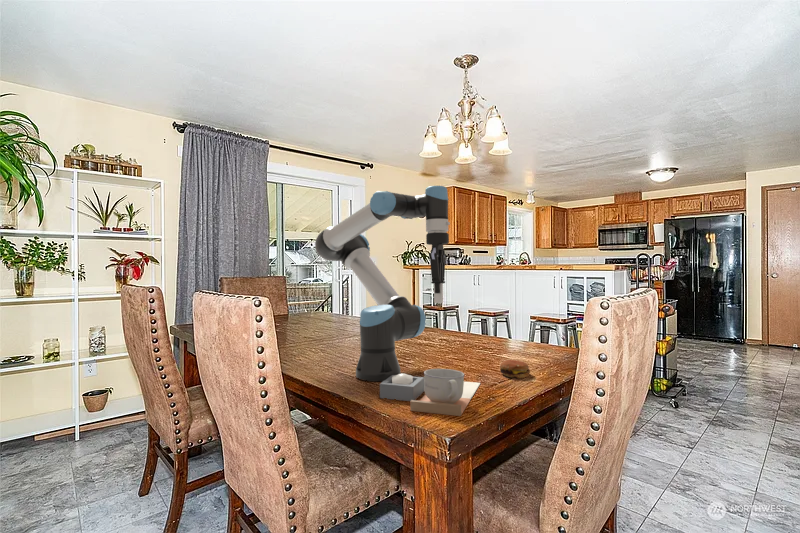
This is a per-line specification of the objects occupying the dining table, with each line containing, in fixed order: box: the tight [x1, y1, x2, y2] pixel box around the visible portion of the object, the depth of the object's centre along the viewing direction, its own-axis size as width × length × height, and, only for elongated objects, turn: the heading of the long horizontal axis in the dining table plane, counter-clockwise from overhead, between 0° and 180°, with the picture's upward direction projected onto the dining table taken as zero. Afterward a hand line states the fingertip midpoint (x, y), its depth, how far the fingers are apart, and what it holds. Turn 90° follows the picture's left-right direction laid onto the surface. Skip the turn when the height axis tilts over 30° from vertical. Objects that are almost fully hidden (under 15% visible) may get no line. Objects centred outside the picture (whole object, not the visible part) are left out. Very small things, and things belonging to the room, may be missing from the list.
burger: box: [499, 359, 531, 379], centre depth 139 cm, size 10×9×5 cm
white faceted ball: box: [392, 372, 414, 385], centre depth 120 cm, size 6×6×6 cm
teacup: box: [423, 368, 465, 404], centre depth 110 cm, size 14×11×8 cm
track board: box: [409, 381, 481, 417], centre depth 118 cm, size 13×29×2 cm, turn 160°
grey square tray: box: [379, 375, 425, 402], centre depth 120 cm, size 10×10×4 cm
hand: (438, 302), depth 139 cm, fingers closed
